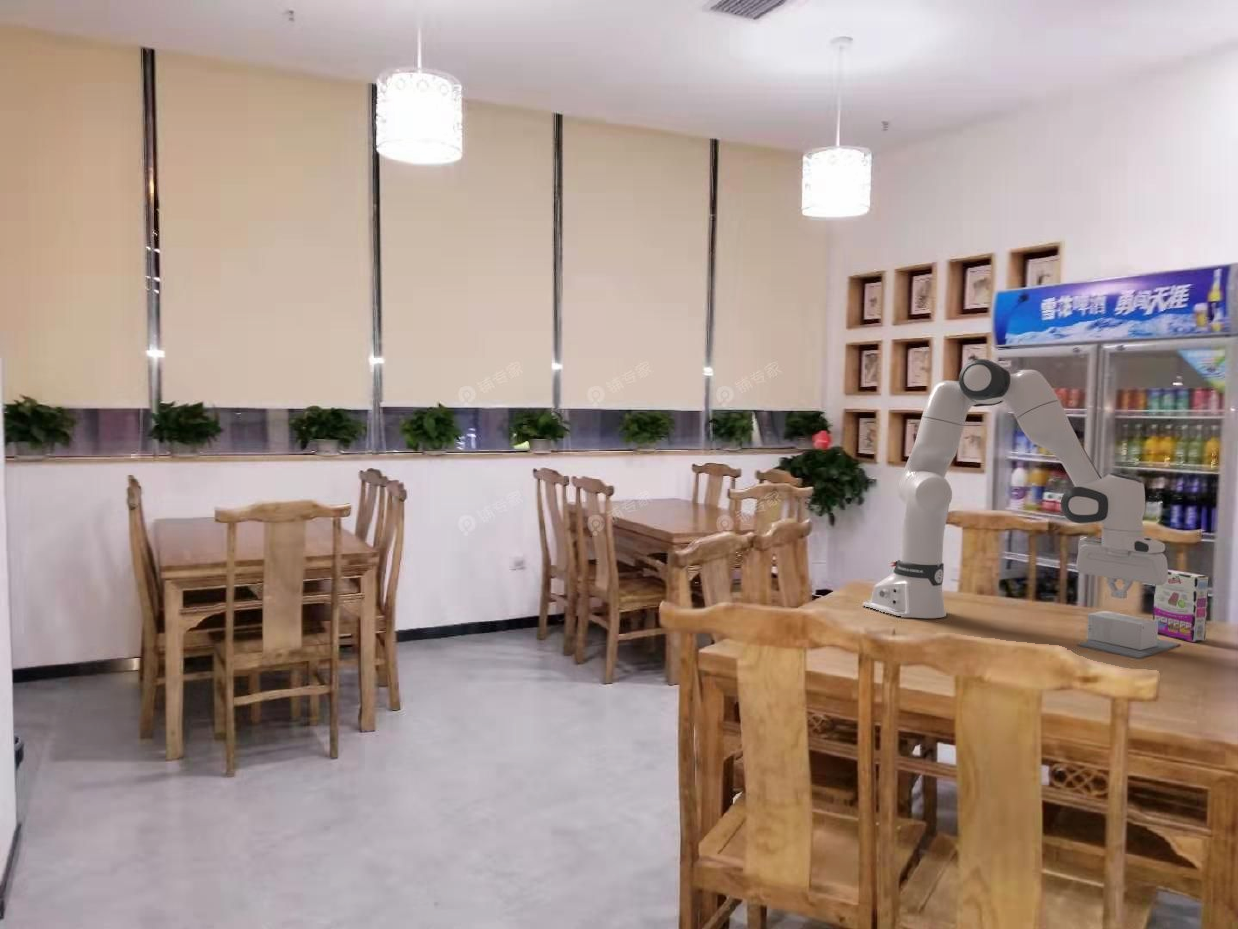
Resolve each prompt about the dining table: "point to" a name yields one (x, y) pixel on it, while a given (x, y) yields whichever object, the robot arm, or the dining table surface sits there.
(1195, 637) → the candy bar box
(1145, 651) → the mat
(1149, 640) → the small box
